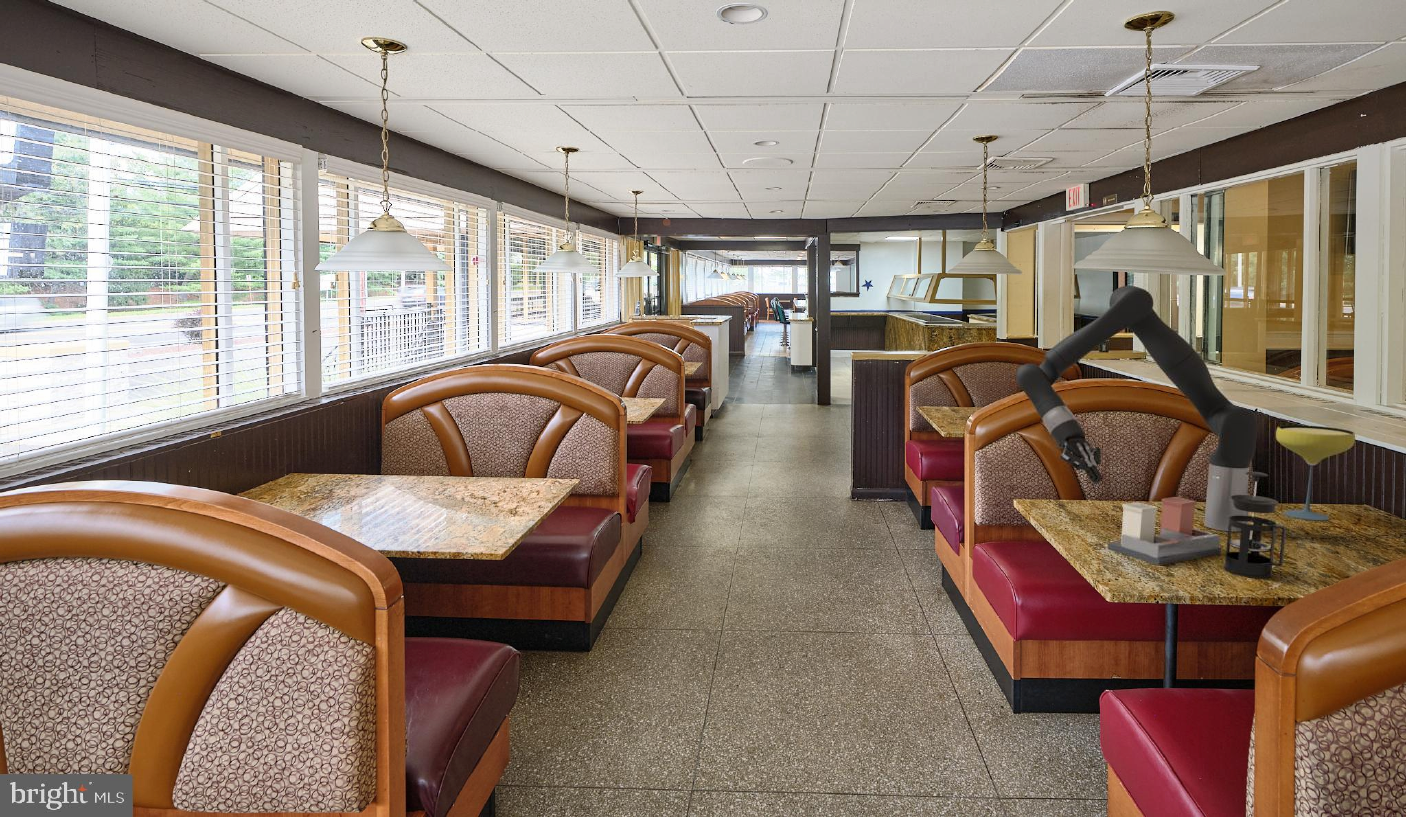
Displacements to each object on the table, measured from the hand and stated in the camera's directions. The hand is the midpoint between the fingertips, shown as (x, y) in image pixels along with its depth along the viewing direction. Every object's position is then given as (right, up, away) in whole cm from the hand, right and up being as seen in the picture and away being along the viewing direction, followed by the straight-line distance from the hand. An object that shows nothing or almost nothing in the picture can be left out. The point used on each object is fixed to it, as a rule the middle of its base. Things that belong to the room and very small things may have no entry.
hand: (1098, 481), depth 215 cm
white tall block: (+5, -15, -9) cm, 18 cm away
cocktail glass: (+72, -12, +26) cm, 78 cm away
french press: (+23, -19, -23) cm, 38 cm away
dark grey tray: (+12, -16, -7) cm, 21 cm away
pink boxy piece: (+18, -14, -3) cm, 23 cm away
